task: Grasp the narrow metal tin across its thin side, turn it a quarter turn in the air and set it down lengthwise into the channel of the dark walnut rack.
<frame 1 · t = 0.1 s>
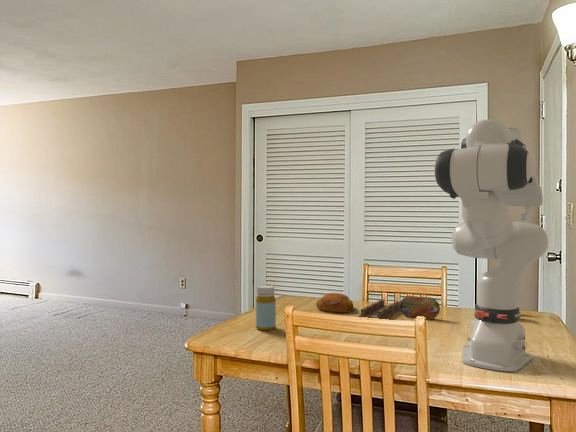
hand: (508, 219, 156), 39 cm above the table, tool pointing down, fingers open, 8 cm apart
rack: (381, 313, 187), on the table
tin: (419, 318, 181), on the table
round bread loaf: (336, 310, 195), on the table
bottle: (265, 328, 166), on the table
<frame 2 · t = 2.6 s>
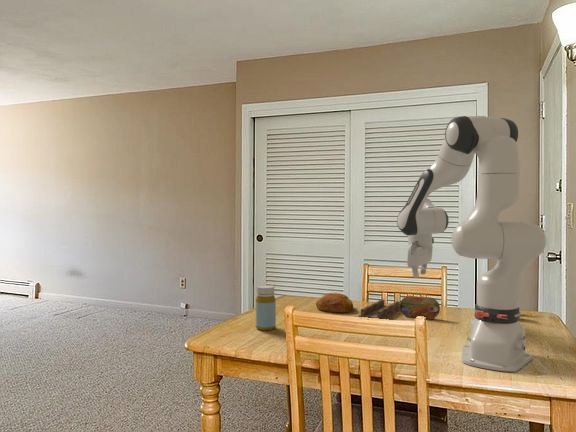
hand: (419, 275, 180), 16 cm above the table, tool pointing down, fingers open, 8 cm apart
nothing on the table moved.
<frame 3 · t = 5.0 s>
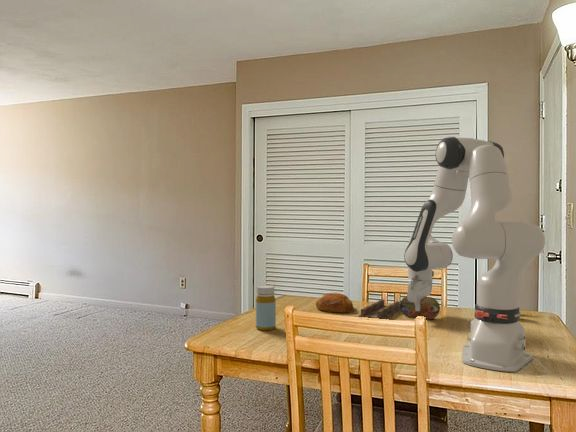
hand: (419, 309, 181), 3 cm above the table, tool pointing down, fingers closed on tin, 3 cm apart
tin: (419, 318, 181), on the table, touching gripper
everything else where it was.
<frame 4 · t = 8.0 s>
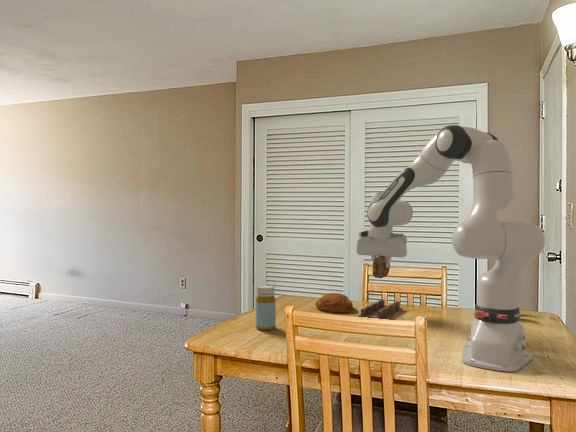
hand: (381, 267, 186), 19 cm above the table, tool pointing down, fingers closed on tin, 3 cm apart
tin: (380, 277, 187), point 15 cm above the table, touching gripper
everything else where it was.
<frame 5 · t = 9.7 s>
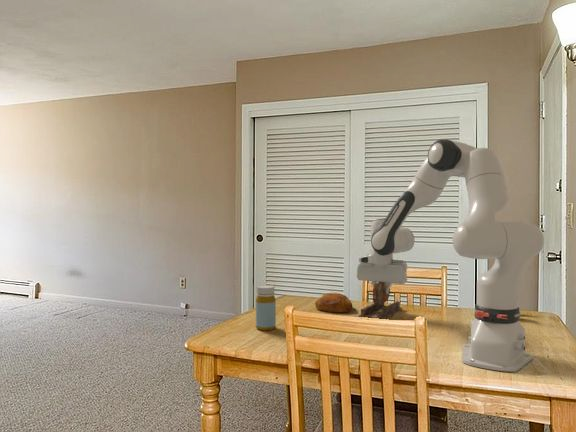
hand: (381, 293, 187), 8 cm above the table, tool pointing down, fingers closed on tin, 3 cm apart
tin: (380, 302, 187), point 4 cm above the table, touching gripper
everything else where it was.
when the fingers open (5 cm above the table, at t = 11.0 s): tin moves 1 cm, point 1 cm above the table.
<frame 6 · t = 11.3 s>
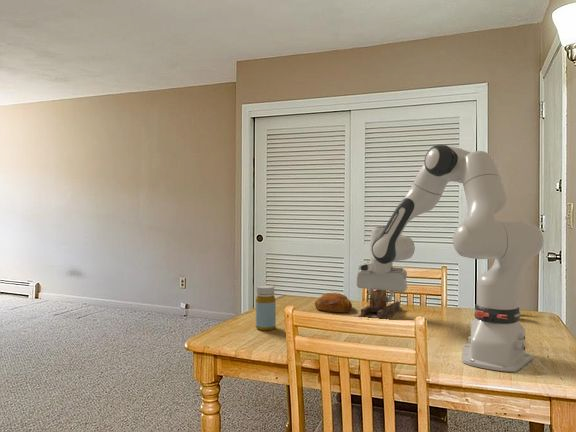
hand: (381, 301, 187), 5 cm above the table, tool pointing down, fingers open, 5 cm apart
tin: (377, 311, 188), point 1 cm above the table, touching gripper
everything else where it was.
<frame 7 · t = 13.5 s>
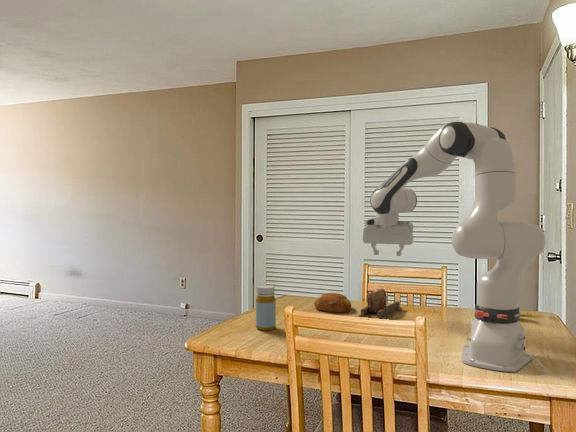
hand: (387, 255, 188), 23 cm above the table, tool pointing down, fingers open, 8 cm apart
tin: (377, 311, 188), point 1 cm above the table, touching rack
everything else where it was.
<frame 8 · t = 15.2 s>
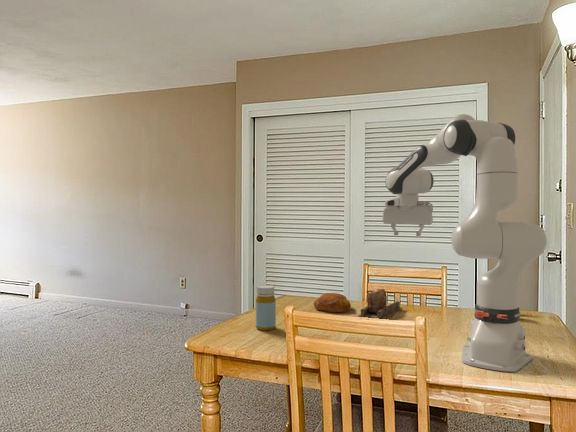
hand: (407, 235, 192), 31 cm above the table, tool pointing down, fingers open, 8 cm apart
at the end: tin 1.6 cm off-centre on the rack, point 0.8 cm above the rack's base; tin tilted 0°; the gripper is holding nothing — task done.
